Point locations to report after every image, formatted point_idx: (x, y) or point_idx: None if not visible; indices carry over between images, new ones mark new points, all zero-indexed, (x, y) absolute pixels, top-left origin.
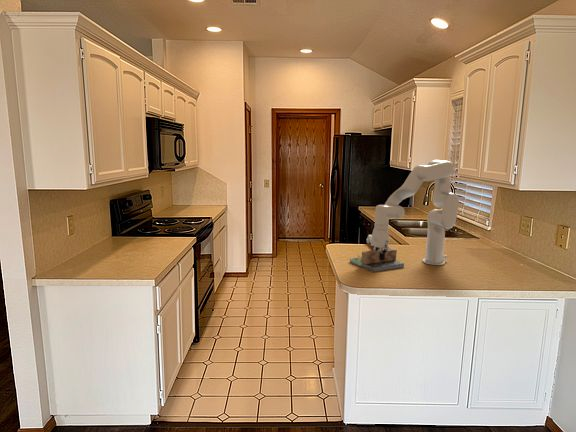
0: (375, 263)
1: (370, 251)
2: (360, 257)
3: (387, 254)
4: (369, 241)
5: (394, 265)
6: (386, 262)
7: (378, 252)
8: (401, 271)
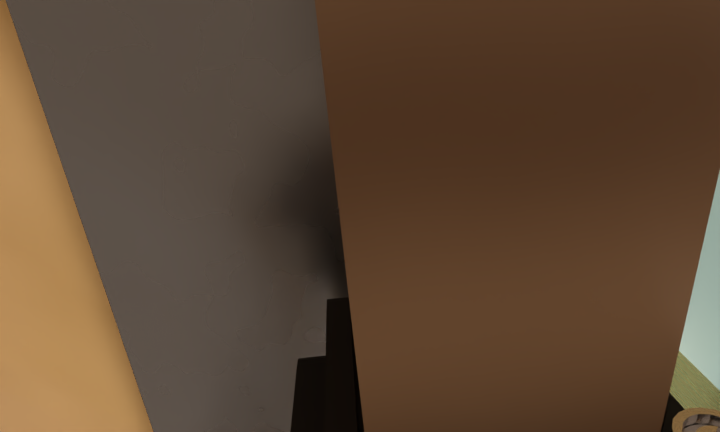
0: (329, 147)
1: (603, 128)
2: None
3: None
4: None
5: (159, 424)
6: None
7: (362, 402)
8: (44, 406)
